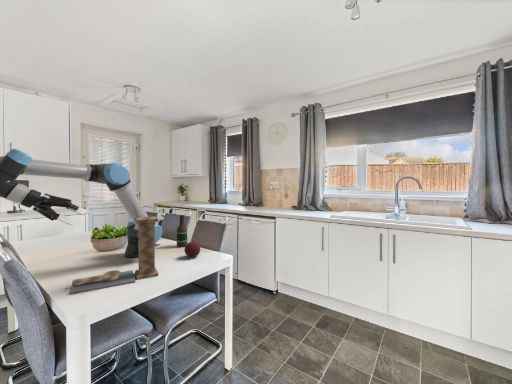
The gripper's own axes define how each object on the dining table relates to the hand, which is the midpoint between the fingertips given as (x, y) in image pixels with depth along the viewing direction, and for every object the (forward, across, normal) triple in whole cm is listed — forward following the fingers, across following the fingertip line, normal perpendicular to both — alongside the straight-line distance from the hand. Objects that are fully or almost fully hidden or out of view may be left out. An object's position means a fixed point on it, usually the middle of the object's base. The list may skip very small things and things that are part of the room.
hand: (79, 218), depth 113 cm
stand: (+40, -1, +16) cm, 43 cm away
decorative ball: (+67, 0, -4) cm, 67 cm away
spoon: (+21, +7, +23) cm, 32 cm away
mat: (+24, +6, +22) cm, 33 cm away
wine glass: (+60, +41, -23) cm, 76 cm away
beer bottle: (+72, +24, -21) cm, 79 cm away
